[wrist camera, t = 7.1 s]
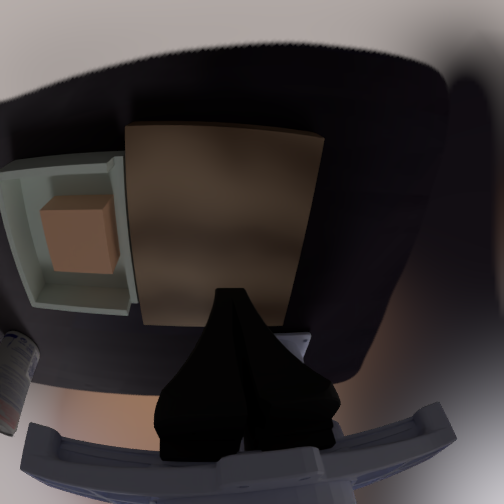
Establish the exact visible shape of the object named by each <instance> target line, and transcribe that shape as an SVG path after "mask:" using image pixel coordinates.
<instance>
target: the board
mask: <svg viewBox="0 0 504 504" xmlns="http://www.w3.org/2000/svg"><path fill="white" fill-rule="evenodd" d="M324 139H325V138H323V137H322V136H320V135H318V134H316V133H314V132H308V131H302V130H294V129H287V128H279V127H270V126H260V125H250V124H237V123H222V122H201V121H134V122H132V123H130V124H128V125H126V126H125V163H126V186H127V202H128V215H129V226H130V236H131V245H132V253H133V261H134V269H135V276H136V282H137V289H138V295H139V301H140V307H141V312H142V318H143V323H144V325H165V326H202V327H205V326H206V323H207V321H208V318H209V315H210V312H211V309H212V306H213V302H214V297H215V289H217V288H244V289H245V290H246V292H247V294H248V296H249V298H250V300H251V302H252V303H253V305H254V307H255V308H256V310H257V312H258V313H259V315H260V316H261V318H262V319H263V321H264V322H265V323H266V325H267V326H283V322H284V318H285V314H286V310H287V307H288V303H289V299H290V295H291V291H292V287H293V283H294V279H295V275H296V270H297V266H298V262H299V258H300V254H301V249H302V245H303V241H304V236H305V232H306V227H307V223H308V218H309V214H310V209H311V204H312V200H313V195H314V190H315V185H316V180H317V175H318V170H319V165H320V160H321V155H322V149H323V144H324Z"/></svg>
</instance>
